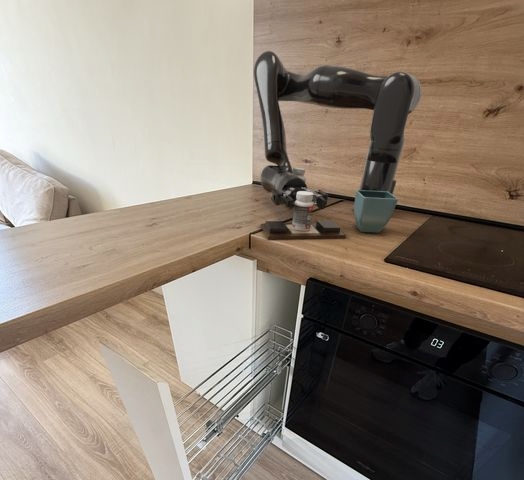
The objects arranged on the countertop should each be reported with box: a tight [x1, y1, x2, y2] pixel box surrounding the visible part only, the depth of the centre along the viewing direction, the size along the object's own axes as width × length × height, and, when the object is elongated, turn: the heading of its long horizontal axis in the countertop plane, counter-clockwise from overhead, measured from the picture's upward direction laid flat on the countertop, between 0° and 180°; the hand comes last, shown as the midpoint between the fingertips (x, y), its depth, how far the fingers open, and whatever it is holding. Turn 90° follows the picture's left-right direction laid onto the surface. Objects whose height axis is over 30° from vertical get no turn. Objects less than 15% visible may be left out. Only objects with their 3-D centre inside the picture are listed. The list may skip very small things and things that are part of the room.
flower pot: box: [353, 189, 399, 234], centre depth 80 cm, size 9×9×9 cm
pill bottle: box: [291, 191, 314, 231], centre depth 76 cm, size 5×5×8 cm
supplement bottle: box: [292, 166, 307, 183], centre depth 102 cm, size 5×5×10 cm
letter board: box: [260, 220, 347, 240], centre depth 78 cm, size 20×10×2 cm, turn 101°
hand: (307, 204), depth 73 cm, fingers open, 7 cm apart
